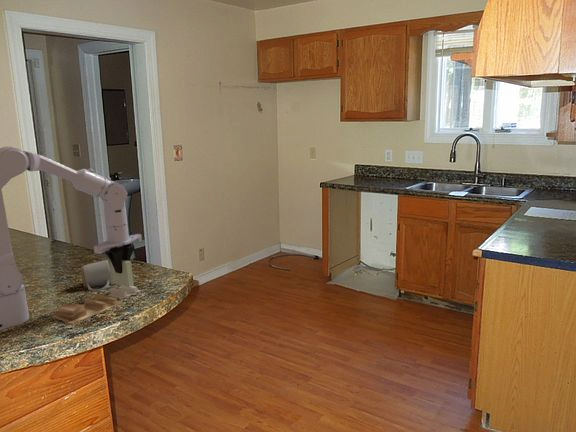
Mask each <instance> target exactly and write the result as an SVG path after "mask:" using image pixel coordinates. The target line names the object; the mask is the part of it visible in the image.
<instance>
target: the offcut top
mask: <svg viewBox="0 0 576 432" xmlns="http://www.w3.org/2000/svg"><path fill="white" fill-rule="evenodd" d="M57 309H58V311H59V313H64V314H69V315H75V314H77V313H79V312H81V311H83V310H84V305H81V304H77V303H74V302H73V303H72V302H69V303H66V304H64V305H62V306H60V307H58V308H57Z"/></svg>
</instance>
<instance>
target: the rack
mask: <svg viewBox="0 0 576 432" xmlns="http://www.w3.org/2000/svg"><path fill="white" fill-rule="evenodd" d="M94 298H95V299H94ZM94 298H90V297H85V298H83V303H81V304H80V305H84V310H86V314H87V315H85V316H83V317H80V318H78V319H76V320H73V321H71V320H68V319H65V318H62V317H59V316H58V313H56V314H54V315H51V316H50V317H51V318H53V319H56V320H60V321H63V322H65V323H69V324H71V325H73V324H76V323H77V322H80V321H83V320H85V319H88V318H89V317H92V316H94V315H97V314H99V313H101V312H103V311H106V310H108V309H110V308H113V307H116V306H118V305H120V304H122V303H123V302H122V301H118V298H115V297H112V296H108V295H105V294H102V293H96V294H94Z"/></svg>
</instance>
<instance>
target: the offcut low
mask: <svg viewBox="0 0 576 432" xmlns="http://www.w3.org/2000/svg"><path fill="white" fill-rule="evenodd" d="M56 314H58V316H59V317H62V318H65V319H68V320H71V321H73V320H76V319H78V318H80V317H83V316H85V315H87V314H86V310H83V311H81V312H79V313H77V314H75V315H69V314H64V313H59V310H58V311H57V313H56Z"/></svg>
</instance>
